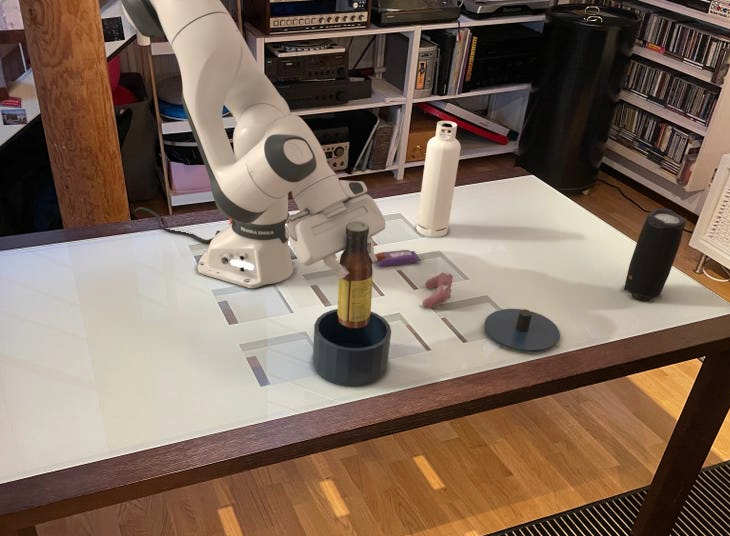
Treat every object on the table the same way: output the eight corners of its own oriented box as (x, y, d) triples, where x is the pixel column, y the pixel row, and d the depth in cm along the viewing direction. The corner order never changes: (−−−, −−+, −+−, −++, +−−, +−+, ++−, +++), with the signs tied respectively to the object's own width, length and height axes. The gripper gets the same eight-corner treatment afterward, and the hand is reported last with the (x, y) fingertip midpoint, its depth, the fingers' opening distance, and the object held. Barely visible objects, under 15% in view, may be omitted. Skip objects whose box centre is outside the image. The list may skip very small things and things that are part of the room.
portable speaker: (625, 301, 173) (651, 223, 161) (618, 281, 180) (642, 204, 169) (664, 305, 172) (693, 227, 160) (656, 285, 179) (683, 208, 168)
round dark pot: (304, 378, 147) (305, 342, 142) (323, 337, 158) (325, 302, 153) (378, 393, 144) (382, 356, 139) (392, 350, 155) (397, 315, 150)
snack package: (414, 247, 187) (422, 257, 183) (413, 254, 188) (421, 264, 184) (370, 252, 184) (377, 262, 180) (369, 259, 185) (376, 269, 182)
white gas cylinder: (448, 225, 202) (465, 120, 185) (446, 238, 195) (463, 131, 179) (418, 221, 203) (431, 116, 186) (414, 234, 197) (428, 127, 180)
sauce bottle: (374, 317, 146) (384, 223, 134) (362, 333, 141) (371, 237, 129) (342, 308, 148) (349, 215, 136) (330, 324, 143) (336, 228, 132)
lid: (480, 346, 157) (484, 325, 154) (487, 308, 169) (491, 287, 166) (558, 360, 154) (564, 339, 151) (559, 320, 166) (564, 300, 163)
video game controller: (437, 316, 168) (456, 294, 164) (420, 306, 168) (438, 283, 164) (440, 294, 176) (457, 272, 172) (423, 284, 175) (441, 261, 171)
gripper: (290, 211, 129) (329, 283, 129) (370, 179, 140) (405, 245, 141) (272, 226, 134) (309, 295, 134) (350, 194, 146) (384, 258, 146)
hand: (359, 270), depth 138 cm, fingers closed on sauce bottle, 6 cm apart
